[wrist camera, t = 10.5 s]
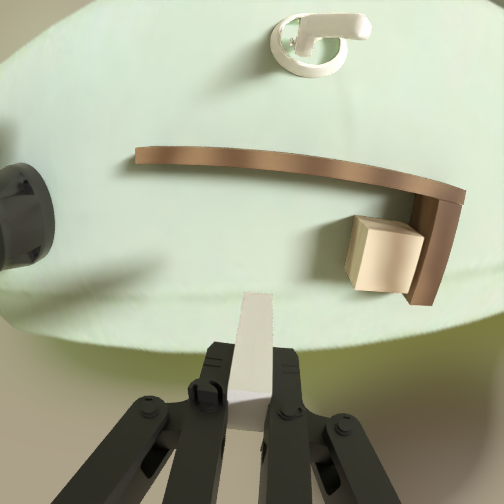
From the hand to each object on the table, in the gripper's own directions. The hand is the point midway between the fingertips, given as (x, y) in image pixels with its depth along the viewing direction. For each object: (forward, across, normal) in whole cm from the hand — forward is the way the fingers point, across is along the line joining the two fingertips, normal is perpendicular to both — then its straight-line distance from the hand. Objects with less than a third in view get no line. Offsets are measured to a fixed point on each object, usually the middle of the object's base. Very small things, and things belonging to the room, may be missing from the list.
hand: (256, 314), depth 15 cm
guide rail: (+15, +4, +2) cm, 16 cm away
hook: (+15, +3, +20) cm, 25 cm away
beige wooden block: (+15, +12, 0) cm, 19 cm away
